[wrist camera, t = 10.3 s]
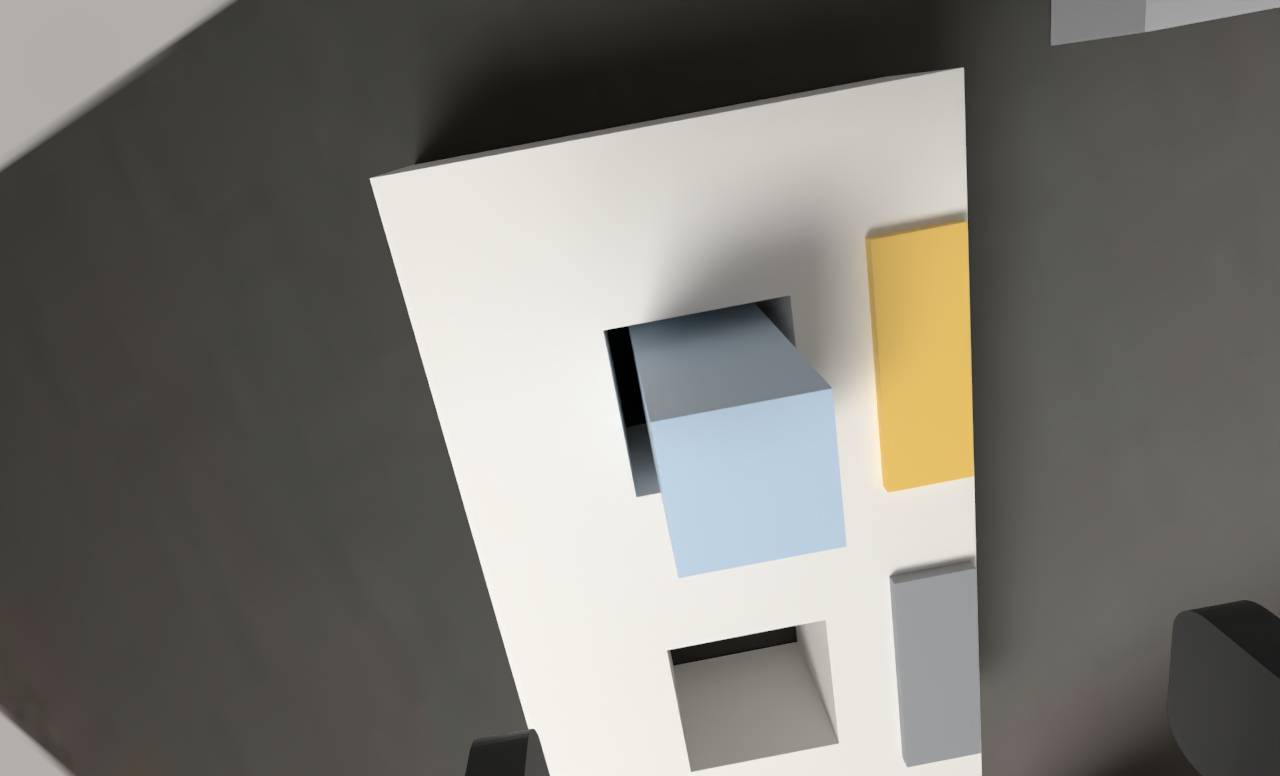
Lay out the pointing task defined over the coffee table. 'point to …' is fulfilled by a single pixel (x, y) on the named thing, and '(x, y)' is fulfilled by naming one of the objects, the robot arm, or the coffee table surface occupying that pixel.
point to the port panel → (622, 456)
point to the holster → (1138, 16)
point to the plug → (738, 440)
